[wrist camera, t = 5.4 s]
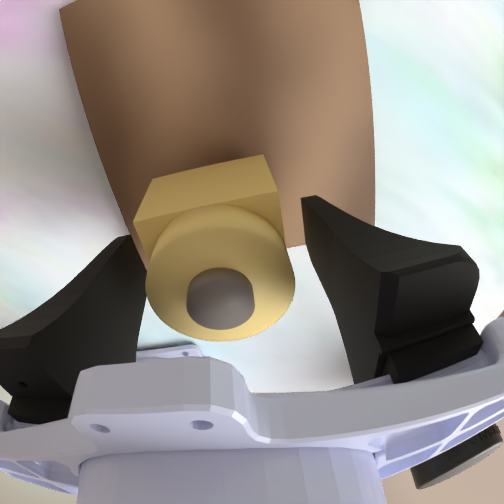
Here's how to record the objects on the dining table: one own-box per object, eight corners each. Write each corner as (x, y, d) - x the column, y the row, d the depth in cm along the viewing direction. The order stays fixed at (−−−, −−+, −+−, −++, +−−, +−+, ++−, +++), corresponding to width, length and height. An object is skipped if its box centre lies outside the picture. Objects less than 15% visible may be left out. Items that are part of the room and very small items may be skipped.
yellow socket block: (183, 266, 15) (173, 362, 11) (152, 178, 13) (117, 259, 8) (278, 247, 15) (303, 341, 11) (263, 154, 13) (291, 224, 8)
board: (152, 262, 17) (148, 276, 16) (70, 11, 9) (59, 9, 8) (366, 219, 17) (374, 230, 16) (338, -45, 9) (347, -51, 8)
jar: (468, 334, 26) (520, 432, 16) (420, 384, 30) (457, 475, 20) (409, 329, 23) (468, 457, 14) (359, 386, 28) (393, 498, 18)
